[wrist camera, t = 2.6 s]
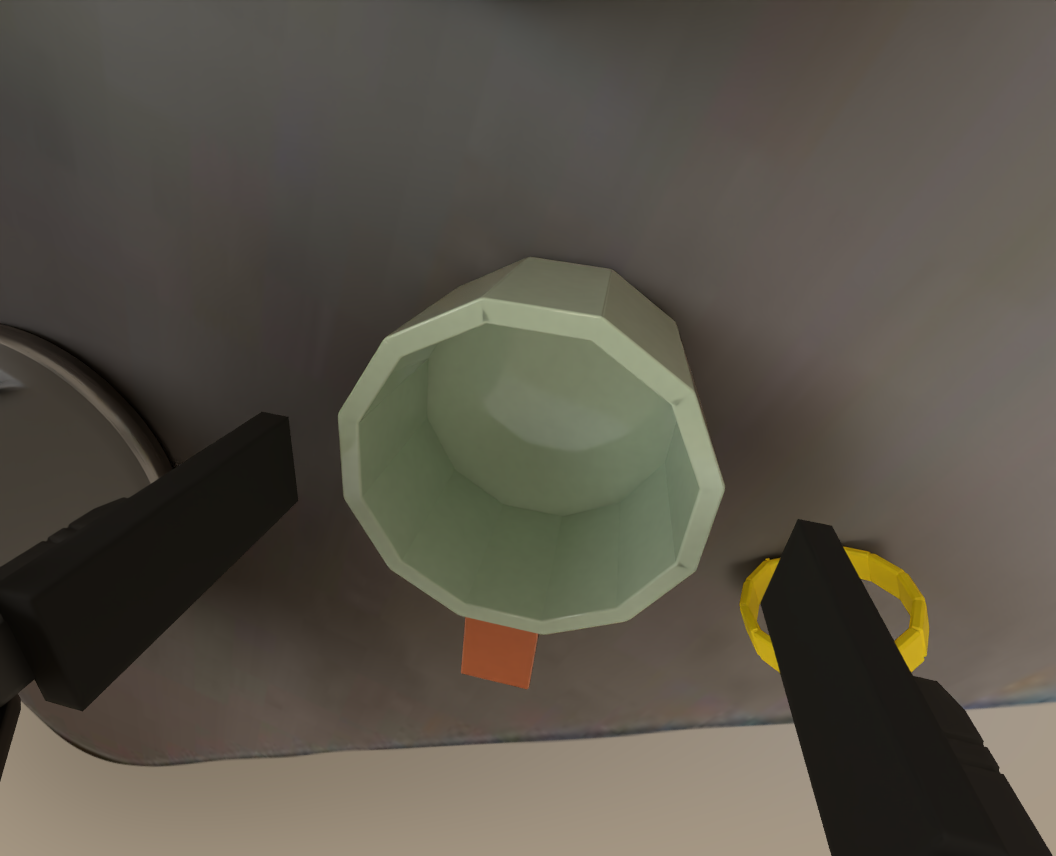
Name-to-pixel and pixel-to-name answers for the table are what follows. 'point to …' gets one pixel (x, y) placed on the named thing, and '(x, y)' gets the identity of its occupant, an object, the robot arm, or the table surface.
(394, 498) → the pale green cup
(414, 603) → the table surface
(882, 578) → the watch
